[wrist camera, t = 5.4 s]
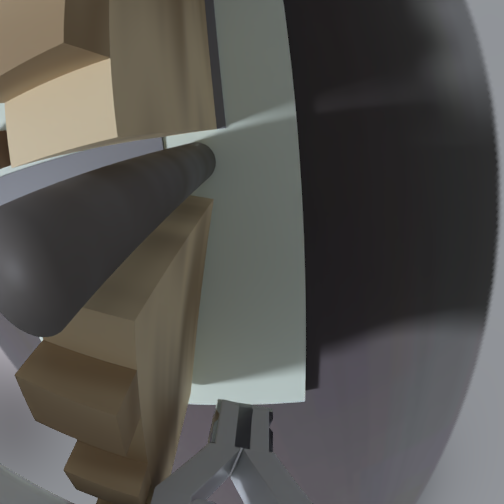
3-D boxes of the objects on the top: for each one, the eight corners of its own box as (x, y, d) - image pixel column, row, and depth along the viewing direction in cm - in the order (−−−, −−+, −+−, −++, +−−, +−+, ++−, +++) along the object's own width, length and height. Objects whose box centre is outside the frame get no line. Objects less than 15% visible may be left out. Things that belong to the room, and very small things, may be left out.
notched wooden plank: (163, 190, 9) (-4, 324, 3) (213, 199, 9) (107, 366, 3) (155, 384, 12) (106, 528, 6) (190, 392, 12) (155, 542, 6)
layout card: (-4, -2, 6) (-14, -5, 6) (264, -96, 6) (264, -106, 5) (72, 383, 14) (66, 392, 13) (303, 391, 13) (305, 403, 12)
